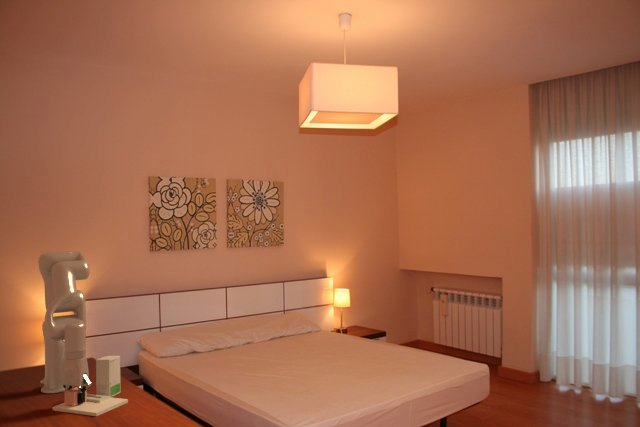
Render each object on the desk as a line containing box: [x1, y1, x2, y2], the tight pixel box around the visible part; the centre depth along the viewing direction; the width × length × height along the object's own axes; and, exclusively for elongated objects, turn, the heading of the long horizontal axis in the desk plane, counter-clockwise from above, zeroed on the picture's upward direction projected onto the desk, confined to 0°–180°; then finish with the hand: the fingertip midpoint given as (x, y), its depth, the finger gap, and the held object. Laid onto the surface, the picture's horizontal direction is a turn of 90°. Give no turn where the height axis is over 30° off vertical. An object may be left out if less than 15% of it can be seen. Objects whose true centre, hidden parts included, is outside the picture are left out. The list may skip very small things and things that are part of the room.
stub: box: [63, 386, 88, 406], centre depth 198 cm, size 5×6×5 cm
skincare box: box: [95, 355, 122, 398], centre depth 211 cm, size 8×7×16 cm
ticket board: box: [52, 393, 129, 417], centre depth 198 cm, size 22×16×2 cm
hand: (75, 401), depth 198 cm, fingers closed on stub, 5 cm apart
